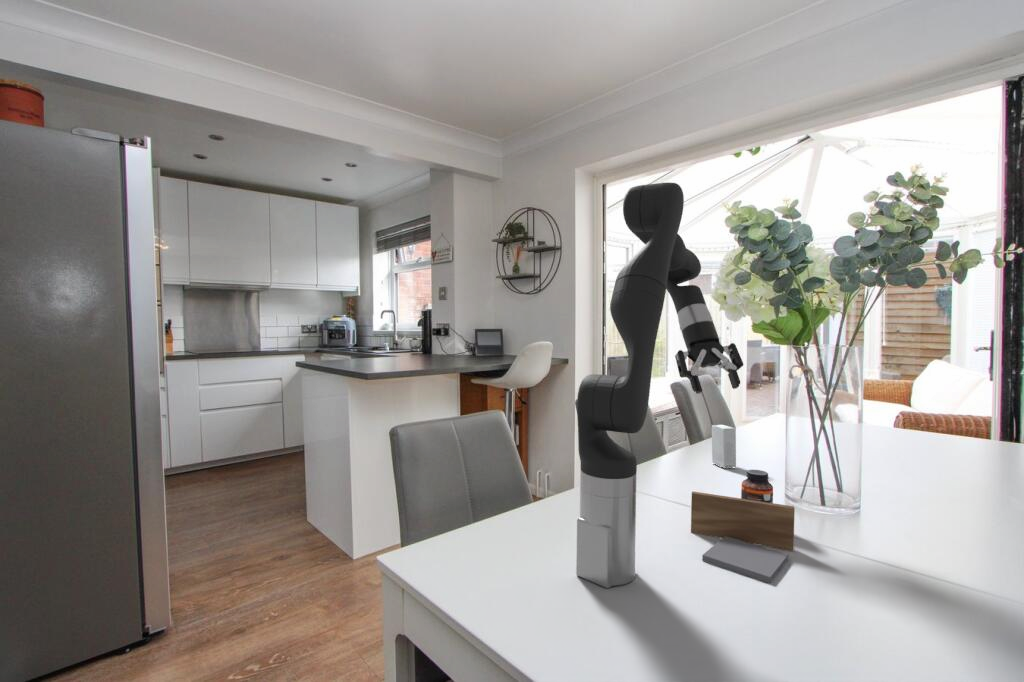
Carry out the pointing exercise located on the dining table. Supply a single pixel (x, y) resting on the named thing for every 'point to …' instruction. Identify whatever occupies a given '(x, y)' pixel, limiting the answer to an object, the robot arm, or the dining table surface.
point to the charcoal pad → (746, 558)
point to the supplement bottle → (757, 487)
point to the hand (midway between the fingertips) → (717, 390)
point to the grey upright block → (724, 446)
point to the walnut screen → (743, 520)
